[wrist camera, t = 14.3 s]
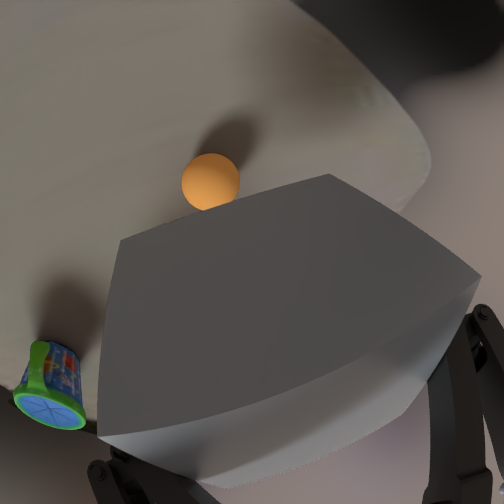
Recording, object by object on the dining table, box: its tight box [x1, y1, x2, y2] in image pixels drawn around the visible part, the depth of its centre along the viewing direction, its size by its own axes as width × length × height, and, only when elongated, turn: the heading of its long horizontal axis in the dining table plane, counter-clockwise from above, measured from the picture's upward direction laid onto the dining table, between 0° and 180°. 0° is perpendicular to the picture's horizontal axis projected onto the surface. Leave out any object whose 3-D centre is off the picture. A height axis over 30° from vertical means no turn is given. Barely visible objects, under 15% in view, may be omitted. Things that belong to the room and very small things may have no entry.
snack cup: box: [13, 341, 86, 430], centre depth 26 cm, size 16×10×10 cm
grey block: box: [97, 174, 481, 489], centre depth 11 cm, size 10×10×9 cm
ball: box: [181, 153, 240, 210], centre depth 23 cm, size 5×5×5 cm
